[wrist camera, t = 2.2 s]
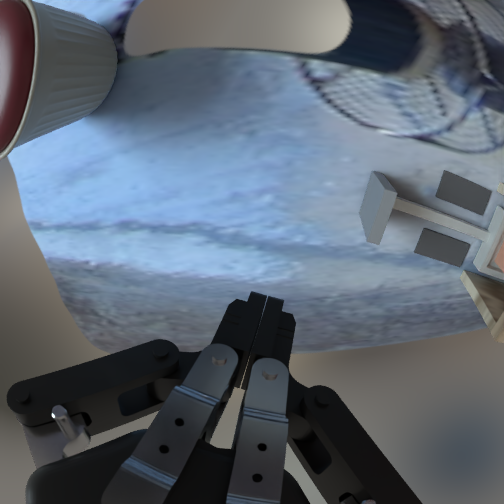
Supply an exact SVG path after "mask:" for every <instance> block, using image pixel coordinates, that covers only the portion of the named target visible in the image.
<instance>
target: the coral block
mask: <svg viewBox="0 0 504 504" xmlns="http://www.w3.org/2000/svg"><path fill="white" fill-rule="evenodd" d="M494 262H495V263H496V264H497V265H498V266H499V268H500V269H501V270H502V271H503V273H504V241H503V243H502V246H501V248H500V250H499V252H498V254H497V257H496V259H495V261H494Z"/></svg>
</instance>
